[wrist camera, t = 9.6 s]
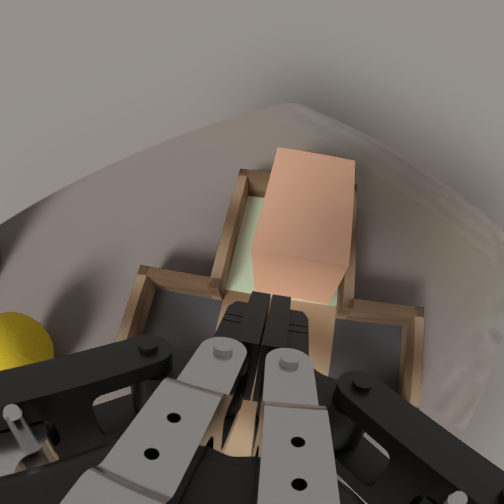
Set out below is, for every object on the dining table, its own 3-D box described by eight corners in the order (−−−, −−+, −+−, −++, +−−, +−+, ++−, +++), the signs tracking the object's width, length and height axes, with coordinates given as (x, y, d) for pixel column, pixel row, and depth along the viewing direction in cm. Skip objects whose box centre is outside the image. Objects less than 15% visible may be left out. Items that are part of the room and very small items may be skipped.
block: (328, 304, 25) (348, 266, 19) (254, 290, 26) (251, 248, 19) (339, 213, 29) (355, 160, 23) (276, 201, 30) (277, 147, 24)
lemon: (77, 340, 24) (21, 310, 17) (59, 396, 22) (-2, 382, 15) (37, 322, 25) (-17, 289, 18) (20, 373, 22) (-38, 352, 15)
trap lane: (378, 528, 16) (391, 539, 13) (102, 478, 18) (84, 483, 16) (404, 214, 29) (414, 195, 26) (186, 183, 32) (180, 163, 29)
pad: (335, 307, 25) (336, 306, 25) (226, 291, 26) (225, 289, 26) (341, 211, 29) (342, 209, 29) (248, 198, 30) (248, 195, 30)
